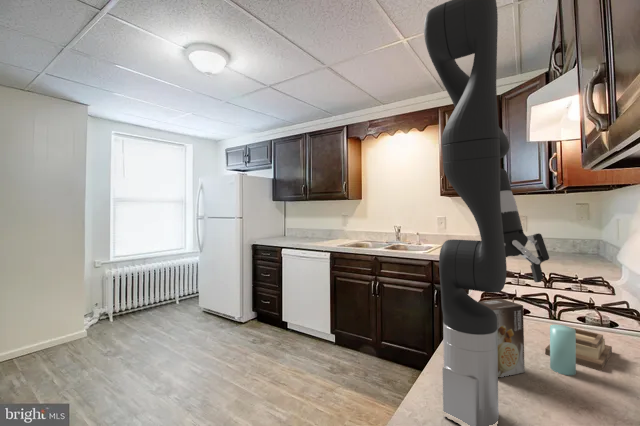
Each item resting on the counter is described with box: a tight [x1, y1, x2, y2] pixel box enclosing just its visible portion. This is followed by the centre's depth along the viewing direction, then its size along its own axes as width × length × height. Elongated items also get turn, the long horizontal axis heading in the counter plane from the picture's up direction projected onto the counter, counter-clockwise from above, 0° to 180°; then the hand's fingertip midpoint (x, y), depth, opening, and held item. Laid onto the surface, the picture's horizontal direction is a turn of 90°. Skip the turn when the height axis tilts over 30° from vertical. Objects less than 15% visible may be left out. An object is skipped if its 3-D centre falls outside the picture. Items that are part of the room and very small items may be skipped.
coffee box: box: [478, 298, 526, 378], centre depth 73 cm, size 9×6×16 cm
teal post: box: [549, 324, 577, 376], centre depth 73 cm, size 5×5×10 cm
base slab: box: [544, 327, 613, 371], centre depth 80 cm, size 14×11×5 cm
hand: (516, 284), depth 68 cm, fingers open, 8 cm apart
